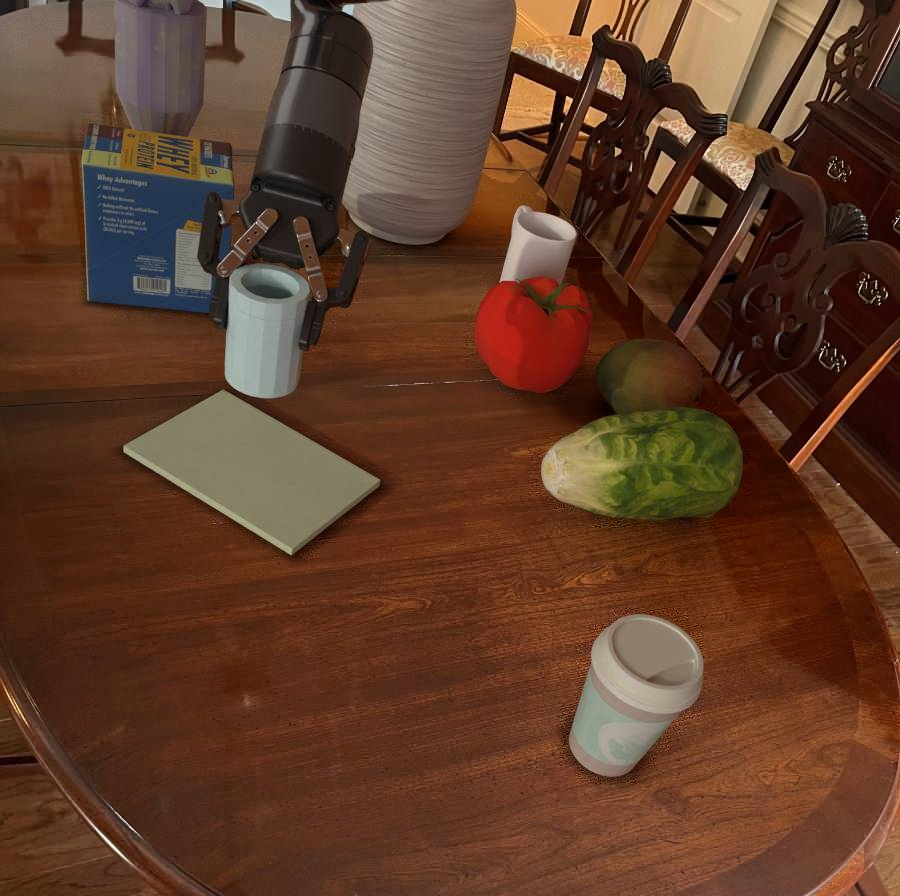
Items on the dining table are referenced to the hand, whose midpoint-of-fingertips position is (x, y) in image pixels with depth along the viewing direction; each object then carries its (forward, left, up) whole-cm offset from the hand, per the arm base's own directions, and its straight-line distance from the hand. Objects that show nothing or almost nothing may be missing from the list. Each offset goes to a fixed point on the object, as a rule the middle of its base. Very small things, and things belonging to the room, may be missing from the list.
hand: (261, 337), depth 82 cm
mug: (-1, +57, -16) cm, 60 cm away
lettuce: (+29, +25, -16) cm, 42 cm away
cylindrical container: (-1, +1, -5) cm, 5 cm away
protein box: (-30, +20, -16) cm, 40 cm away
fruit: (+23, +42, -16) cm, 51 cm away
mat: (-1, +2, -16) cm, 16 cm away
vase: (-23, +60, -16) cm, 67 cm away
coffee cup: (+41, -5, -16) cm, 44 cm away
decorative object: (-45, +36, -16) cm, 60 cm away
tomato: (+9, +39, -16) cm, 44 cm away
